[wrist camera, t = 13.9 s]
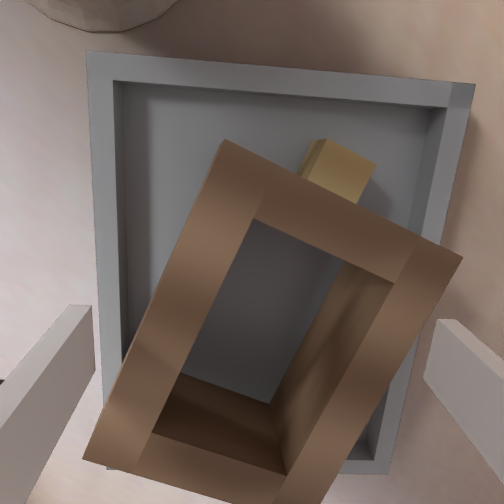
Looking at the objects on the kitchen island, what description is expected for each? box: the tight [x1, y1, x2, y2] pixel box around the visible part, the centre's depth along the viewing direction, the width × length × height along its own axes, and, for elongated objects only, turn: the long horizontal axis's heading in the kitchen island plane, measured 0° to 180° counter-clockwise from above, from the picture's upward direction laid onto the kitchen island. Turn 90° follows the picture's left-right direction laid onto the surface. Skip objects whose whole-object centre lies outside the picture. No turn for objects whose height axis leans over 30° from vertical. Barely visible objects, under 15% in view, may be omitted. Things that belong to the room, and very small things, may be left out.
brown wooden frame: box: [82, 138, 463, 504], centre depth 17 cm, size 15×10×5 cm, turn 154°
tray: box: [86, 50, 476, 475], centre depth 20 cm, size 21×16×2 cm
